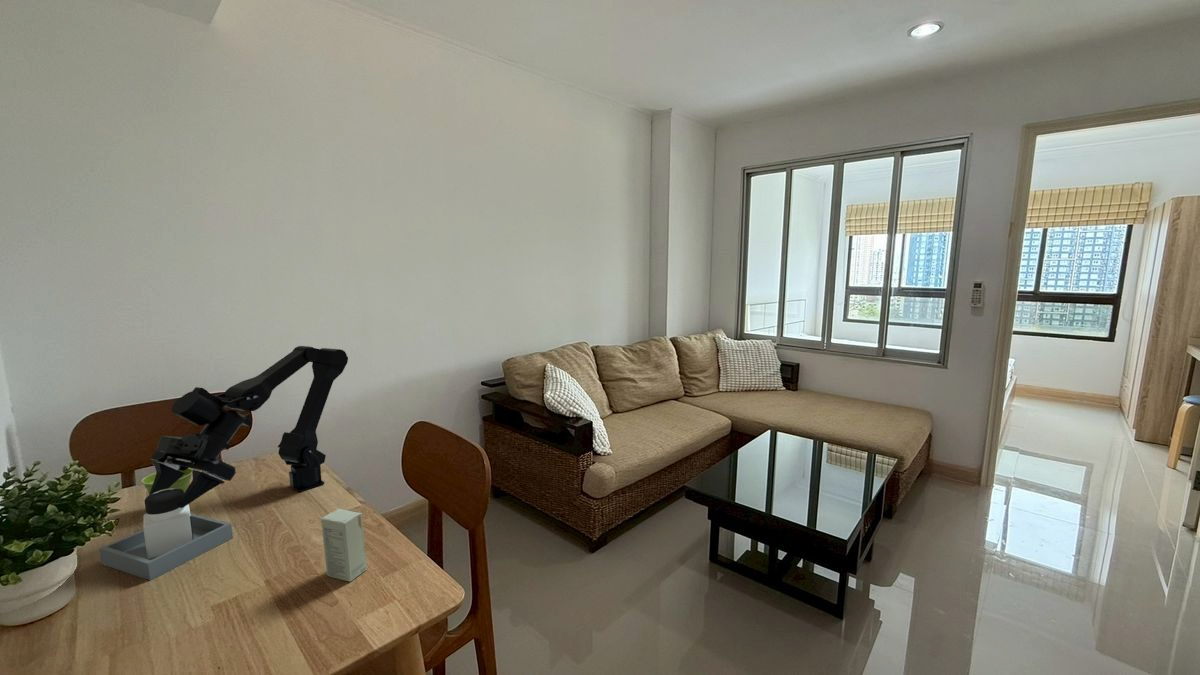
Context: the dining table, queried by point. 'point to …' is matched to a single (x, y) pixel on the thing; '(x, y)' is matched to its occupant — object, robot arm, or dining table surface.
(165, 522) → the medicine bottle
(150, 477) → the plant pot
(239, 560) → the dining table surface
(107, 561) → the tray
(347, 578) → the skincare box
